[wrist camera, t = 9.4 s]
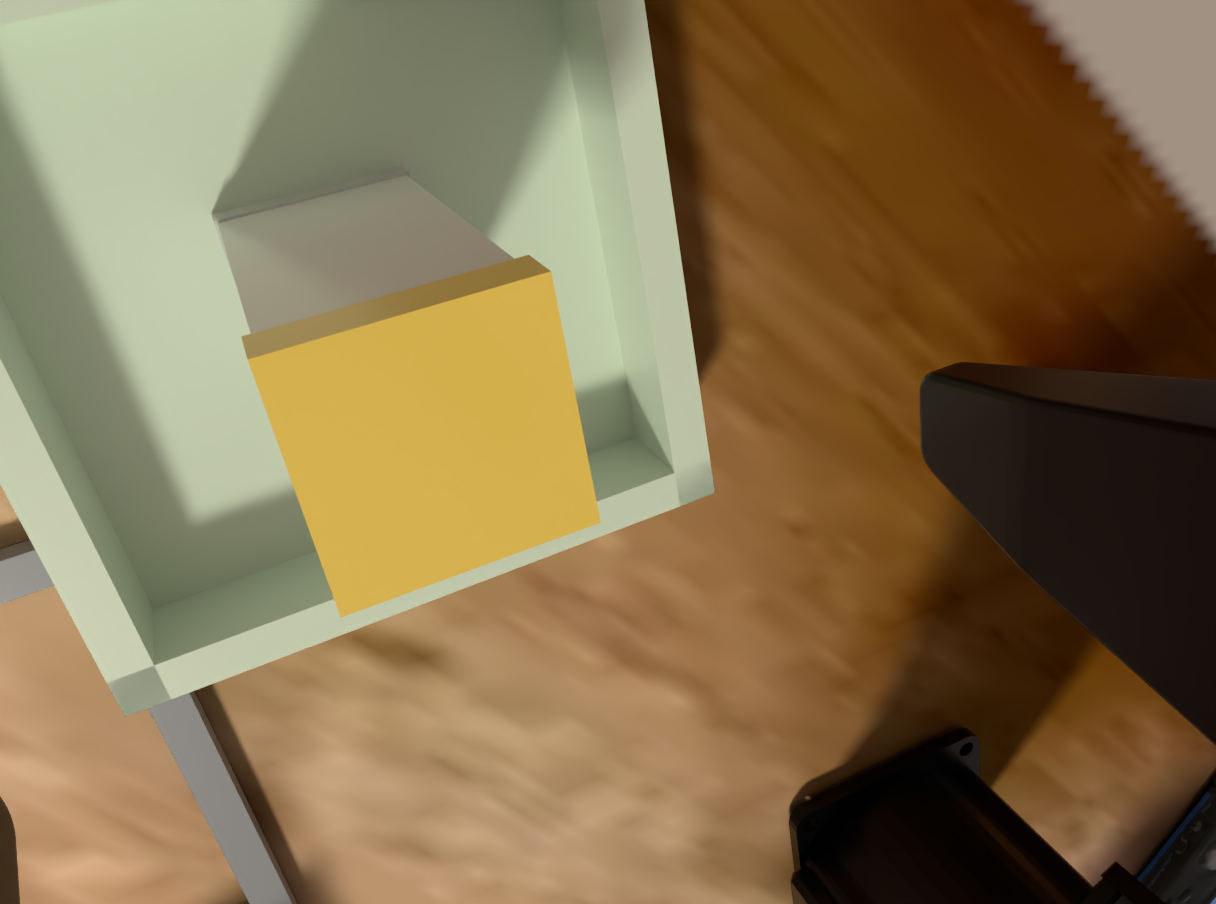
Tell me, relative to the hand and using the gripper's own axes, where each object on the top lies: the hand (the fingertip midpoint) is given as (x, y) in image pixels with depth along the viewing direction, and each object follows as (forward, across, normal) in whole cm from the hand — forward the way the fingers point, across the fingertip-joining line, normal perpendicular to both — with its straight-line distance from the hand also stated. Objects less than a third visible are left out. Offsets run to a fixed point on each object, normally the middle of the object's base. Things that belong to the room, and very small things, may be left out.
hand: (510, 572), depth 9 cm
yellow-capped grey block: (+11, 0, 0) cm, 11 cm away
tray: (+12, 0, 0) cm, 12 cm away
